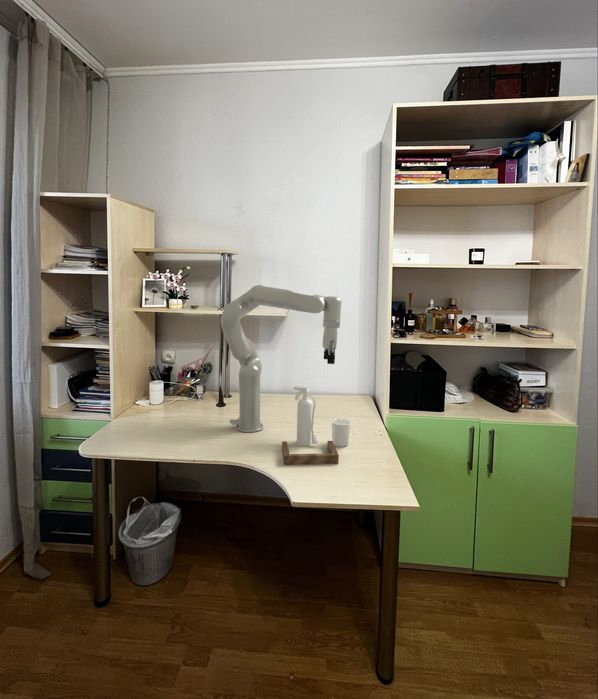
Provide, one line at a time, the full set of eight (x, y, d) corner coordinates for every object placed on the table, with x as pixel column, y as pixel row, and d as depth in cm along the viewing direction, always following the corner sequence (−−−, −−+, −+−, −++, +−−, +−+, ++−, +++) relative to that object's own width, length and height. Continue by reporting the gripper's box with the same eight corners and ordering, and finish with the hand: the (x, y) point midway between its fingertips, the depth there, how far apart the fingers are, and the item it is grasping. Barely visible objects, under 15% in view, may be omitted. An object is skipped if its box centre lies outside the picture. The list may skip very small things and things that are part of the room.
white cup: (348, 440, 202) (349, 418, 200) (350, 447, 194) (351, 425, 192) (330, 440, 201) (331, 418, 200) (332, 447, 194) (332, 424, 192)
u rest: (284, 464, 176) (284, 456, 175) (281, 449, 190) (282, 441, 190) (338, 463, 178) (338, 455, 177) (331, 448, 192) (332, 440, 192)
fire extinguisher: (312, 449, 190) (313, 390, 187) (290, 443, 198) (290, 386, 194) (321, 445, 196) (323, 388, 192) (299, 439, 203) (300, 383, 200)
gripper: (320, 321, 214) (317, 357, 217) (326, 326, 197) (323, 365, 200) (335, 322, 215) (333, 357, 218) (343, 327, 198) (340, 365, 201)
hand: (328, 361), depth 209 cm, fingers open, 9 cm apart
